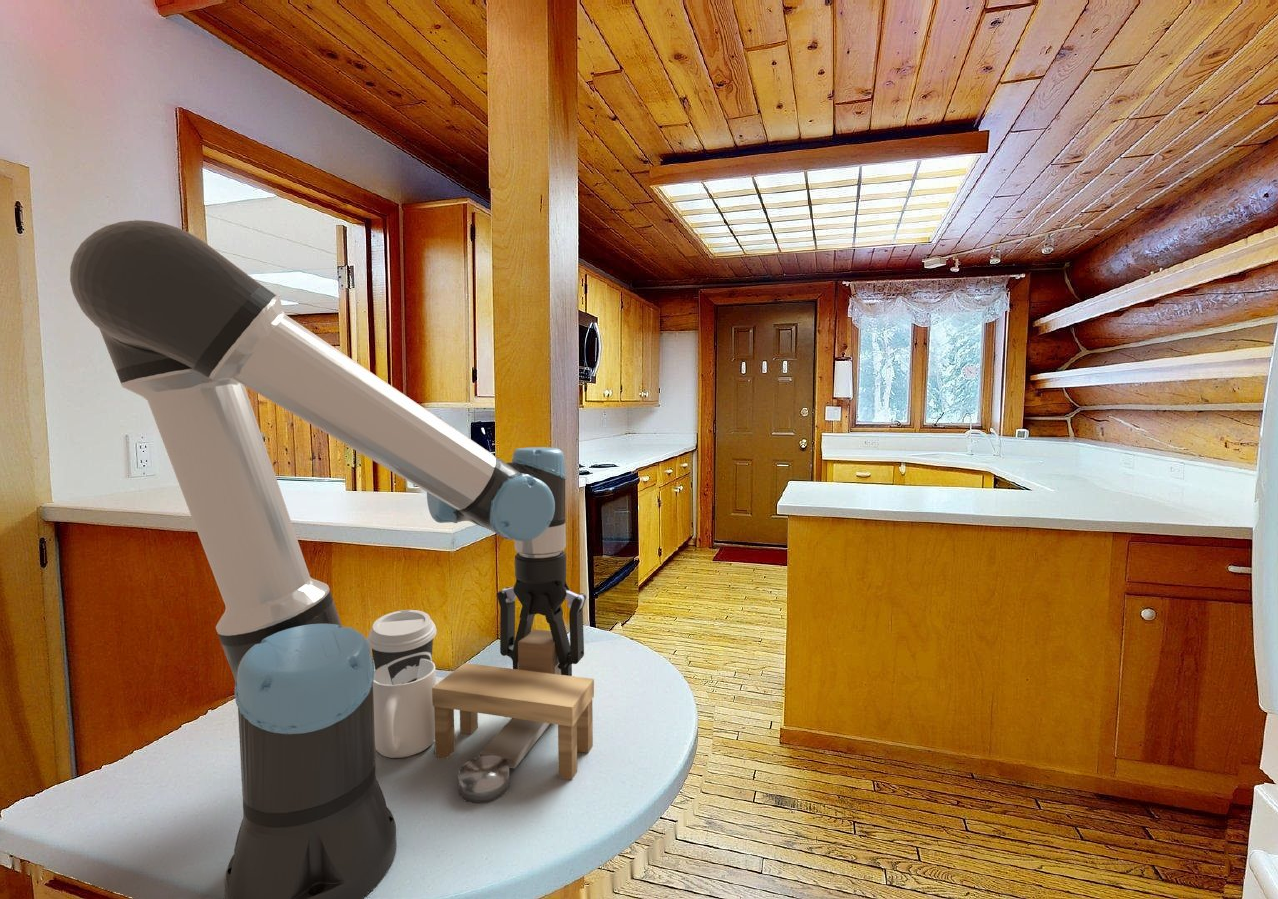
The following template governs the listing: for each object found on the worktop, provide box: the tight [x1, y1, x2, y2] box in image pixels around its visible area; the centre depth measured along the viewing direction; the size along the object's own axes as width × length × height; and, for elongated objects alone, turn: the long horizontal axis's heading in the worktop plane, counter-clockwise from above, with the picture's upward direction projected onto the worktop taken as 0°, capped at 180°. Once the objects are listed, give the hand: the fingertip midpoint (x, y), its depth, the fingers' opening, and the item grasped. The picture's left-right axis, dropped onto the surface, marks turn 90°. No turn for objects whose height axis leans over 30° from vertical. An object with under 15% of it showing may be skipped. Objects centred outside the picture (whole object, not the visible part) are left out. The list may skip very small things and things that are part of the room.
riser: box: [432, 662, 595, 781], centre depth 80 cm, size 8×20×10 cm, turn 75°
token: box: [458, 755, 510, 805], centre depth 72 cm, size 6×6×2 cm
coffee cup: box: [366, 609, 438, 685], centre depth 88 cm, size 10×10×15 cm
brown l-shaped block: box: [478, 628, 559, 769], centre depth 83 cm, size 17×5×12 cm, turn 165°
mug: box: [373, 659, 437, 759], centre depth 80 cm, size 12×8×10 cm
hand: (542, 703), depth 89 cm, fingers closed on brown l-shaped block, 5 cm apart
